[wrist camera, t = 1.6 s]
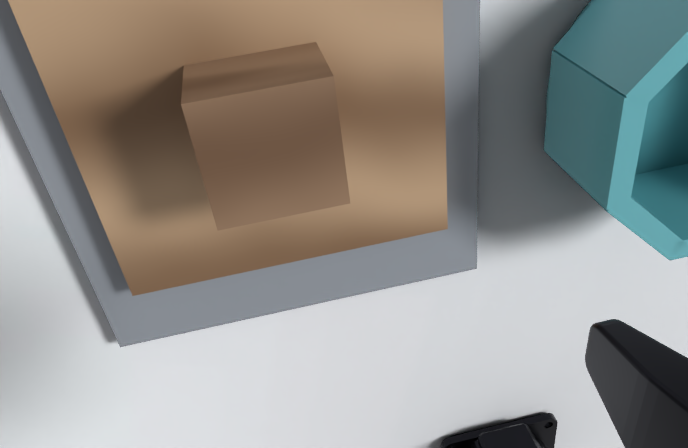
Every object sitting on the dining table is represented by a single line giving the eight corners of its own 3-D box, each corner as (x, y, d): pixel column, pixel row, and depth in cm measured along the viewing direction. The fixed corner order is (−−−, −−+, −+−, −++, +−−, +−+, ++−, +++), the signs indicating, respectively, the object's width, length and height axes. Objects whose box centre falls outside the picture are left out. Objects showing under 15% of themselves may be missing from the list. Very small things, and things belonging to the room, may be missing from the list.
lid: (440, 217, 24) (476, 277, 21) (134, 282, 23) (124, 355, 20) (430, -132, 17) (481, -122, 14) (-8, -65, 16) (-59, -36, 13)
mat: (471, 260, 26) (476, 268, 26) (121, 336, 25) (120, 347, 24) (474, -273, 16) (483, -276, 15) (-121, -194, 15) (-133, -194, 14)
